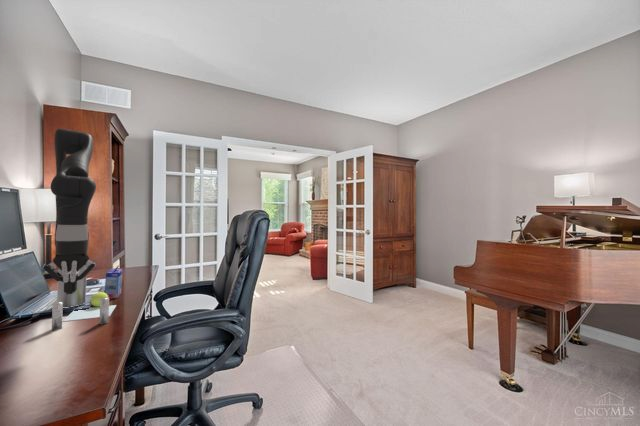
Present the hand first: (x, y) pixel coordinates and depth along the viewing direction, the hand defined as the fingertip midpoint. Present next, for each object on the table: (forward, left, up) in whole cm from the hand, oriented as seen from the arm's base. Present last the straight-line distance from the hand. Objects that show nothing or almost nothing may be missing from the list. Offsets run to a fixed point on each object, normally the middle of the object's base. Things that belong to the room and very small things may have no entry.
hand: (70, 293), depth 87 cm
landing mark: (-27, 0, -15) cm, 31 cm away
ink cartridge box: (-51, +3, -15) cm, 53 cm away
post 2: (-13, +7, -15) cm, 21 cm away
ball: (-35, +1, -12) cm, 37 cm away
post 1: (-13, -6, -15) cm, 21 cm away
